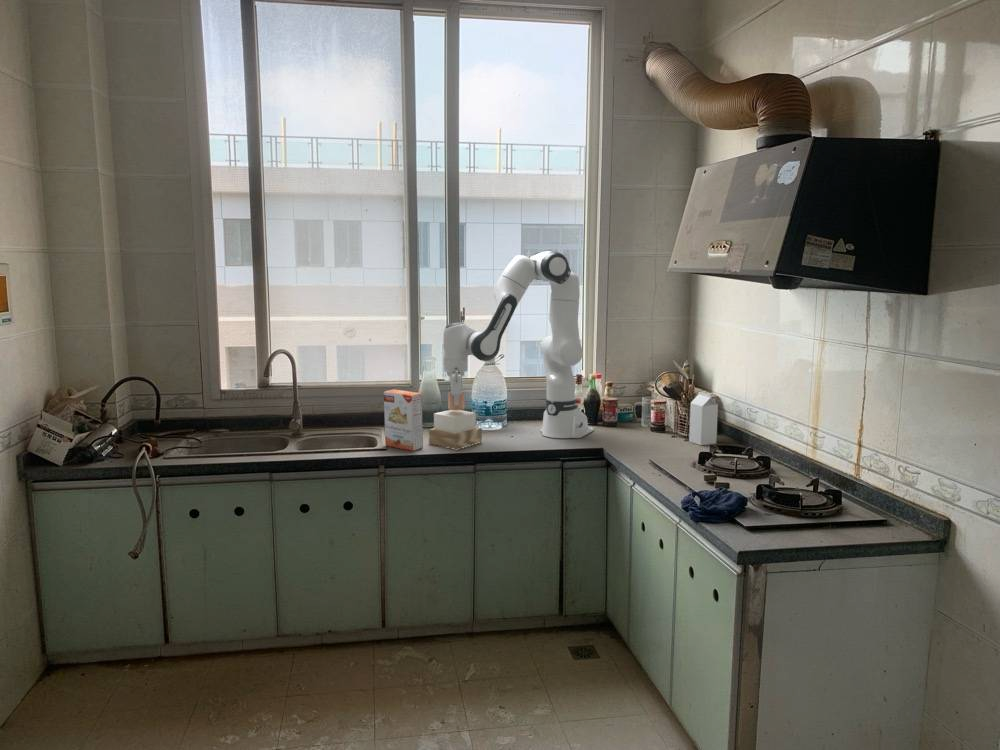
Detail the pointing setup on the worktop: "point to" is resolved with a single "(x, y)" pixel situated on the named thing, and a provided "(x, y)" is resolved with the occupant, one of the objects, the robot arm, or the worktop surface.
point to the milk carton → (703, 420)
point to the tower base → (455, 438)
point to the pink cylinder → (451, 402)
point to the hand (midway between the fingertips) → (456, 402)
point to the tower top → (454, 421)
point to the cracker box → (403, 419)
